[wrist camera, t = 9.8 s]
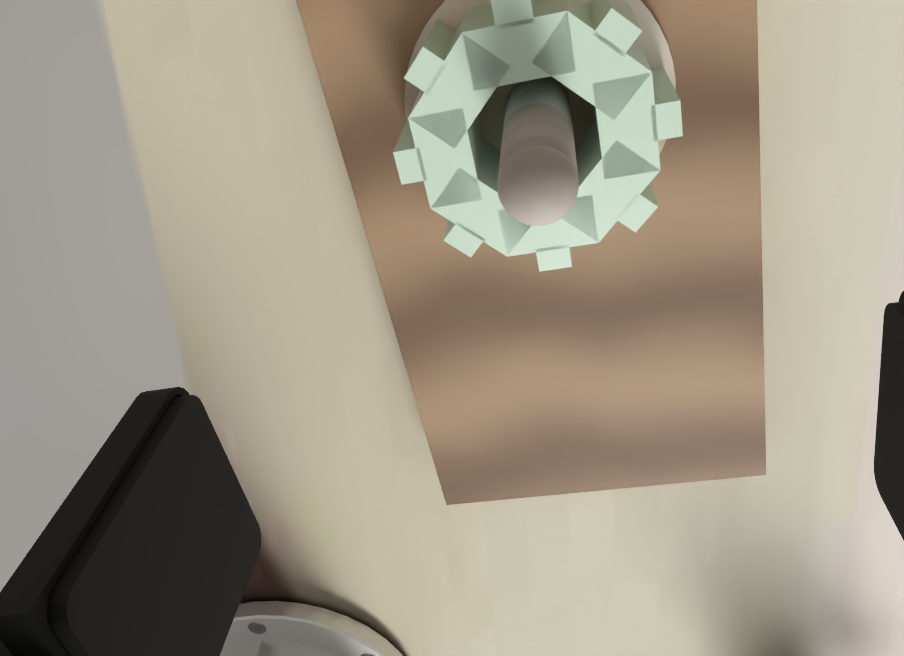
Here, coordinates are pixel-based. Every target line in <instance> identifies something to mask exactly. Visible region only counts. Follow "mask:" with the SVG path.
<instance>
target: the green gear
mask: <svg viewBox="0 0 904 656" xmlns="http://www.w3.org/2000/svg"><path fill="white" fill-rule="evenodd" d="M641 32H642V29H641V27H640V25H639V23H638V21H637V19H636V17H635V15H634V13H633V11H632V8H631V6H630V5H629V4H627V3H626V2H625V1H623V0H592V1H591V2H590V4H589V5H587V4H586V3H584V2H583V1H582V0H491V3H489V4H484V5H479V6H475V7H471V8H470V10H469V11H468V13H467V14H466V16H465V18H464V19H463V21H462V22H461V24H460V26H459V27H458V29H457V30H456V32H455V33H454V32H453V31H451V30H450V29H448V28H447V27H446V26H444V25H443V24H441V23H440V22H438V21H437V20H436V21H435V23H434V25H433V26H432V28H431V30H430V31H429V33H428V35H427V36H426V38H425V40H424V41H423V43H422V45H421V46H420V48H419V50H418V52H417V54H416V55H415V57H414V59H413V61H412V63H411V65H410V67H409V69H408V71H407V73H406V75H405V77H404V79H406V80H407V81H409V82H410V83H412V84H413V85H415V86H416V87H418V88H419V89H421V90H420V92H419V94H418V97H417V99H416V101H415V103H414V106H413V108H412V110H411V113H410V115H409V117H408V119H407V121H406V123H405V126H404V128H403V130H402V133H401V135H400V137H399V140H398V142H397V144H396V146H395V149H394V151H393V154H394V158H395V162H396V166H397V170H398V173H399V177H400V181H401V185H403V184H409V183H414V182H420V181H424V185H425V189H426V193H427V197H428V201H429V205H430V208H431V209H432V210H434V211H435V212H437V213H438V214H440V215H442V216H443V217H445V218H446V219H448V222H447V227H446V231H445V236H444V240H443V241H445V242H446V243H448V244H450V245H451V246H453V247H454V248H456V249H458V250H459V251H461V252H462V253H464V254H466V255H467V256H469V257H472V256H473V254H474V253H475V252H476V250H477V249H478V248H479V246H480V245H481V244H482V242H484V243H486V244H488V245H489V246H491V247H492V248H494V249H496V250H497V251H499V252H500V253H502V254H504V255H505V256H507V257H509V256H515V255H522V254H529V253H535V252H536V256H537V261H538V267H539V272H540V271H547V270H554V269H561V268H568V267H572V259H571V247H575V246H581V245H588V244H595V243H599V242H600V241H601V240H602V238H603V237H604V236H605V235H606V234H607V233H608V231H609V230H610V229H611V228H612V227H613V226H614V224H615V223H616V222H617V221H619V222H620V223H622V224H623V225H625V226H626V227H628V228H629V229H631V230H632V231H634V232H635V233H636V232H637V230H638V229H639V228H640V227H641V226H642V225H643V224H644V222H645V221H646V220H647V219H648V218H649V217H650V216H651V214H652V213H653V212H654V211H655V210H656V209H657V208H658V204H657V201H656V198H655V195H654V191H653V188H652V185H651V181H652V180H653V179H654V177H655V176H656V175H657V174H658V173H659V172H660V158H659V146H658V140H663V139H669V138H675V137H681V136H683V130H682V116H681V101H680V98H679V96H678V94H677V93H676V91H675V89H674V87H673V85H672V83H671V81H670V79H669V77H668V75H667V73H666V71H665V69H664V68H660V69H654V70H651V69H650V66H649V64H648V62H647V60H646V58H645V55H644V53H643V51H642V49H641V46H640V44H639V42H637V41H636V39H637V37H638V36H639V35H640V33H641ZM550 76H552V77H553V78H555V79H556V80H558V81H559V82H561V83H562V84H563V85H565V86H566V87H568V88H569V89H571V90H572V91H573V92H575V93H576V94H578V95H579V96H581V97H582V98H583V99H585V100H586V101H588V102H589V103H591V104H592V105H593V110H594V118H595V121H594V122H593V124H592V125H591V126H590V127H589V129H588V130H587V131H586V133H585V134H584V135H583V137H582V138H581V139H580V140H579V142H578V143H577V144H576V146H575V152H576V161H577V170H578V180H579V187H578V194H577V197H576V200H575V202H574V204H573V206H572V207H571V209H570V210H569V211H568V212H567V214H566V215H564V216H563V217H562V218H561V219H559V220H558V221H556V222H554V223H551V224H548V225H543V226H531V225H527V224H523V223H521V222H519V221H517V220H515V219H514V218H513V217H511V216H510V215H509V214H508V213H507V212H506V210H505V209H504V207H503V206H502V204H501V202H500V199H499V196H498V191H497V179H498V171H499V162H500V153H501V151H499V150H498V149H496V148H495V147H493V146H492V145H490V144H489V143H487V142H486V141H484V137H483V132H482V127H481V122H480V118H479V113H480V111H481V110H482V108H483V107H484V105H485V104H486V102H487V101H488V99H489V98H490V96H491V95H492V93H493V92H494V90H495V89H496V88H497V86H503V85H508V84H513V83H518V82H523V81H529V80H534V79H539V78H544V77H550Z"/></svg>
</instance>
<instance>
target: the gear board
mask: <svg viewBox="0 0 904 656" xmlns="http://www.w3.org/2000/svg"><path fill="white" fill-rule="evenodd" d="M296 1H297V5H298V8H299V11H300V15H301V18H302V22H303V25H304V28H305V32H306V35H307V38H308V42H309V45H310V48H311V52H312V55H313V58H314V62H315V65H316V68H317V72H318V75H319V79H320V82H321V85H322V89H323V92H324V95H325V99H326V102H327V105H328V109H329V112H330V115H331V119H332V122H333V125H334V129H335V132H336V135H337V139H338V142H339V146H340V149H341V152H342V156H343V159H344V162H345V166H346V169H347V172H348V176H349V179H350V182H351V186H352V189H353V192H354V196H355V199H356V203H357V206H358V209H359V213H360V216H361V219H362V223H363V226H364V229H365V233H366V236H367V239H368V243H369V246H370V249H371V253H372V256H373V260H374V263H375V266H376V270H377V273H378V276H379V280H380V283H381V286H382V290H383V293H384V296H385V300H386V303H387V306H388V310H389V313H390V316H391V320H392V323H393V327H394V330H395V333H396V337H397V340H398V343H399V347H400V350H401V353H402V357H403V360H404V363H405V367H406V370H407V373H408V377H409V380H410V384H411V387H412V390H413V394H414V397H415V400H416V404H417V407H418V410H419V414H420V417H421V420H422V424H423V427H424V430H425V434H426V437H427V440H428V444H429V447H430V451H431V454H432V457H433V461H434V464H435V467H436V471H437V474H438V477H439V481H440V484H441V487H442V491H443V494H444V497H445V501H446V504H447V505H450V504H461V503H472V502H482V501H493V500H503V499H514V498H525V497H535V496H546V495H556V494H567V493H578V492H588V491H599V490H609V489H620V488H631V487H641V486H652V485H662V484H673V483H684V482H694V481H705V480H716V479H726V478H737V477H747V476H758V475H766V446H765V394H764V343H763V291H762V240H761V188H760V136H759V85H758V33H757V0H623V1H625V2H626V3H627V4H629V5H630V6H631V8H632V11H633V13H634V15H635V17H636V19H637V21H638V23H639V25H640V27H641V29H642V32H641V33H640V35H639V36H638V37H637V39H636V41H637V42H639V44H640V46H641V49H642V51H643V53H644V55H645V58H646V60H647V62H648V64H649V66H650V69H651V70H654V69H660V68H664V69H665V71H666V73H667V75H668V77H669V79H670V81H671V83H672V85H673V87H674V89H675V91H676V93H677V94H678V96H679V98H680V101H681V116H682V130H683V136H681V137H675V138H669V139H663V140H658V146H659V158H660V172H659V173H658V174H657V175H656V176H655V177H654V179H653V180H652V181H651V185H652V188H653V191H654V195H655V198H656V201H657V204H658V208H657V209H656V210H655V211H654V212H653V213H652V214H651V216H650V217H649V218H648V219H647V220H646V221H645V222H644V224H643V225H642V226H641V227H640V228H639V229H638V230H637V232H636V233H635V232H634V231H632V230H631V229H629V228H628V227H626V226H625V225H623V224H622V223H620V222H619V221H617V222H616V223H615V224H614V226H613V227H612V228H611V229H610V230H609V231H608V233H607V234H606V235H605V236H604V237H603V238H602V240H601V241H600V242H599V243H595V244H588V245H581V246H575V247H571V259H572V267H568V268H561V269H554V270H547V271H540V272H539V267H538V261H537V256H536V252H535V253H529V254H522V255H515V256H509V257H507V256H505V255H504V254H502V253H500V252H499V251H497V250H496V249H494V248H492V247H491V246H489V245H488V244H486V243H484V242H482V244H481V245H480V246H479V248H478V249H477V250H476V252H475V253H474V254H473V256H472V257H469V256H467V255H466V254H464V253H462V252H461V251H459V250H458V249H456V248H454V247H453V246H451V245H450V244H448V243H446V242H445V241H443V240H444V236H445V231H446V227H447V222H448V219H446V218H445V217H443V216H442V215H440V214H438V213H437V212H435V211H434V210H432V209H431V208H430V205H429V201H428V197H427V193H426V189H425V185H424V181H420V182H414V183H409V184H403V185H401V181H400V177H399V173H398V170H397V166H396V162H395V158H394V154H393V151H394V149H395V146H396V144H397V142H398V140H399V137H400V135H401V133H402V130H403V128H404V126H405V123H406V121H407V119H408V117H409V115H410V113H411V110H412V108H413V106H414V103H415V101H416V99H417V97H418V94H419V92H420V90H421V89H419V88H418V87H416V86H415V85H413V84H412V83H410V82H409V81H407V80H406V79H404V77H405V75H406V73H407V71H408V69H409V67H410V65H411V63H412V61H413V59H414V57H415V55H416V54H417V52H418V50H419V48H420V46H421V45H422V43H423V41H424V40H425V38H426V36H427V35H428V33H429V31H430V30H431V28H432V26H433V25H434V23H435V21H436V20H437V21H438V22H440V23H441V24H443V25H444V26H446V27H447V28H448V29H450V30H451V31H453V32H454V33H455V32H456V30H457V29H458V27H459V26H460V24H461V22H462V21H463V19H464V18H465V16H466V14H467V13H468V11H469V10H470V8H471V7H475V6H479V5H484V4H489V3H491V0H296ZM582 1H583V2H584V3H586V4H587V5H589V4H590V2H591V1H592V0H582ZM479 118H480V122H481V127H482V132H483V137H484V141H486V142H487V143H489V144H490V145H492V146H493V147H495V148H496V149H498V150H499V151H501V153H500V162H499V171H498V179H497V191H498V196H499V199H500V202H501V204H502V206H503V207H504V209H505V210H506V212H507V213H508V214H509V215H510V216H511V217H513V218H514V219H515V220H517V221H519V222H521V223H523V224H527V225H531V226H543V225H548V224H551V223H554V222H556V221H558V220H559V219H561V218H562V217H563V216H564V215H566V214H567V212H568V211H569V210H570V209H571V207H572V206H573V204H574V202H575V200H576V197H577V194H578V187H579V180H578V170H577V161H576V152H575V146H576V144H577V143H578V142H579V140H580V139H581V138H582V137H583V135H584V134H585V133H586V131H587V130H588V129H589V127H590V126H591V125H592V124H593V122H594V121H595V118H594V110H593V105H592V104H591V103H589V102H588V101H586V100H585V99H583V98H582V97H581V96H579V95H578V94H576V93H575V92H573V91H572V90H571V89H569V88H568V87H566V86H565V85H563V84H562V83H561V82H559V81H558V80H556V79H555V78H553V77H552V76H550V77H544V78H539V79H534V80H529V81H523V82H518V83H513V84H508V85H503V86H497V88H496V89H495V90H494V92H493V93H492V95H491V96H490V98H489V99H488V101H487V102H486V104H485V105H484V107H483V108H482V110H481V111H480V113H479Z"/></svg>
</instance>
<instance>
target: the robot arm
mask: <svg viewBox="0 0 904 656" xmlns="http://www.w3.org/2000/svg"><path fill="white" fill-rule="evenodd" d="M874 474H875V480H876V484H877V488H878V491H879V493H880V495H881V497H882V499H883V501H884V503H885V505H886V507H887V509H888V511H889V513H890V515H891V517H892V519H893V521H894V523H895V524H896V526H897V528H898V530H899V532H900V534H901V536H902V538H903V540H904V291H903V292H902V293H901V296H900V298H899V302H896V303H889V304H888V305H887V306H886V308H885V312H884V323H883V338H882V352H881V367H880V382H879V397H878V412H877V426H876V441H875V456H874ZM260 547H261V532H260V528H259V525H258V522H257V520H256V518H255V516H254V514H253V512H252V509H251V507H250V505H249V503H248V501H247V499H246V496H245V494H244V492H243V490H242V488H241V486H240V484H239V481H238V479H237V477H236V475H235V473H234V471H233V468H232V466H231V464H230V462H229V460H228V458H227V456H226V453H225V451H224V449H223V447H222V445H221V443H220V440H219V438H218V436H217V434H216V432H215V430H214V428H213V425H212V423H211V421H210V419H209V417H208V415H207V412H206V410H205V408H204V406H203V404H202V402H201V401H200V399H199V398H198V397H197V396H194V395H189V393H188V392H187V391H186V390H185V389H184V388H180V387H175V388H168V389H160V390H153V391H146V392H142V393H140V395H138V397H136V399H135V400H134V402H133V403H132V405H131V406H130V408H129V409H128V410H127V412H126V413H125V415H124V416H123V417H122V419H121V420H120V422H119V423H118V425H117V426H116V427H115V429H114V431H113V432H112V433H111V435H110V436H109V438H108V439H107V440H106V442H105V443H104V445H103V446H102V448H101V449H100V450H99V452H98V453H97V455H96V456H95V458H94V459H93V461H92V462H91V463H90V465H89V466H88V468H87V469H86V470H85V472H84V473H83V475H82V476H81V478H80V479H79V481H78V482H77V483H76V485H75V486H74V488H73V489H72V490H71V492H70V493H69V495H68V496H67V498H66V499H65V500H64V502H63V503H62V505H61V506H60V508H59V509H58V511H57V512H56V513H55V515H54V516H53V518H52V519H51V521H50V522H49V523H48V525H47V526H46V528H45V529H44V531H43V532H42V534H41V535H40V536H39V538H38V539H37V541H36V542H35V543H34V545H33V546H32V548H31V549H30V551H29V552H28V553H27V555H26V557H25V558H24V559H23V561H22V562H21V564H20V565H19V567H18V568H17V569H16V571H15V572H14V574H13V575H12V577H11V578H10V579H9V581H8V582H7V584H6V585H5V586H4V588H3V589H2V591H1V592H0V656H403V655H402V654H401V653H400V652H399V651H398V650H397V649H396V648H395V647H394V646H393V645H392V644H391V643H390V642H389V641H388V640H387V639H385V638H384V637H382V636H381V635H380V634H378V633H377V632H375V631H374V630H372V629H371V628H369V627H368V626H366V625H364V624H362V623H360V622H358V621H356V620H354V619H352V618H350V617H348V616H345V615H342V614H339V613H337V612H334V611H331V610H328V609H325V608H321V607H316V606H312V605H307V604H302V603H294V602H283V601H259V602H249V603H243V604H240V601H241V599H242V596H243V593H244V591H245V588H246V585H247V583H248V580H249V577H250V575H251V572H252V570H253V567H254V564H255V562H256V559H257V556H258V554H259V551H260Z"/></svg>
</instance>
